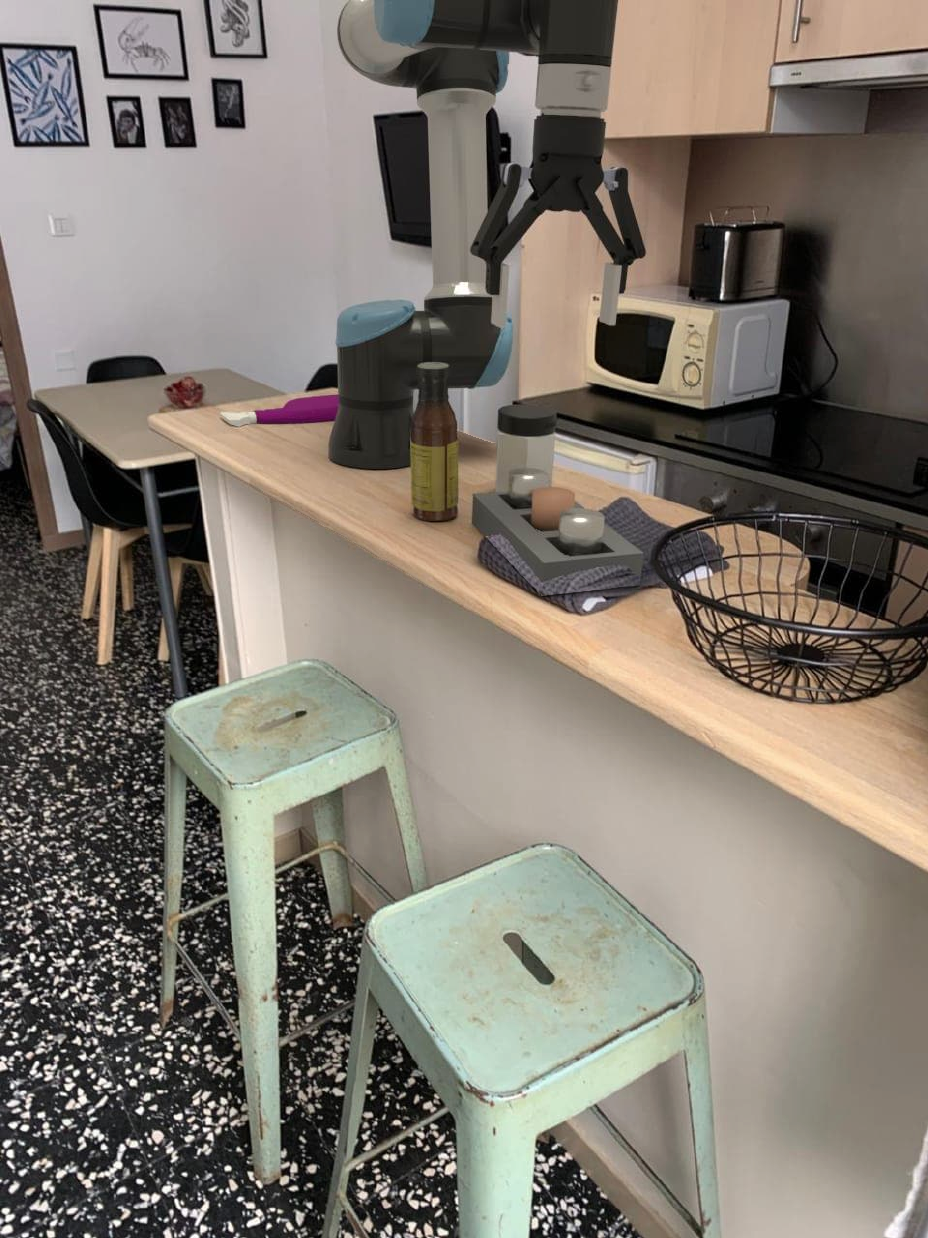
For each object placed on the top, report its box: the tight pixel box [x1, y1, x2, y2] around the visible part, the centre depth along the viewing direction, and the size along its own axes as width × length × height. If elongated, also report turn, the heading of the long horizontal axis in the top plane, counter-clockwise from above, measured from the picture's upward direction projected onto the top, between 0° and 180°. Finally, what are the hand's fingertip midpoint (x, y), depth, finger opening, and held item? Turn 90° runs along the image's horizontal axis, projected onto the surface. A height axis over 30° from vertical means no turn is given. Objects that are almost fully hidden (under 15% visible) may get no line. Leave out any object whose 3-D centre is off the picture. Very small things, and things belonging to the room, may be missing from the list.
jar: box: [494, 403, 558, 492], centre depth 132 cm, size 9×8×12 cm
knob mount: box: [471, 491, 644, 583], centre depth 113 cm, size 24×12×4 cm, turn 18°
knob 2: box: [557, 507, 606, 556], centre depth 105 cm, size 5×5×4 cm
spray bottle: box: [219, 393, 338, 428], centre depth 170 cm, size 3×11×24 cm
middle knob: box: [531, 486, 576, 531], centre depth 112 cm, size 5×5×4 cm
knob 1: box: [508, 468, 549, 509], centre depth 118 cm, size 5×5×4 cm
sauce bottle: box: [410, 362, 459, 522], centre depth 120 cm, size 6×6×20 cm
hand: (553, 324), depth 107 cm, fingers open, 13 cm apart
